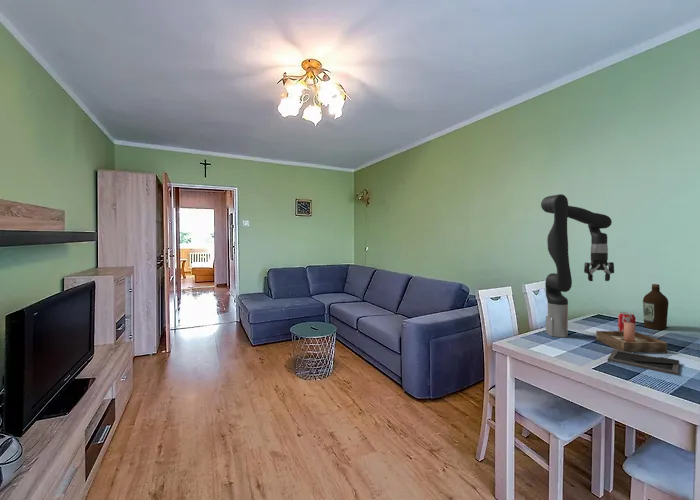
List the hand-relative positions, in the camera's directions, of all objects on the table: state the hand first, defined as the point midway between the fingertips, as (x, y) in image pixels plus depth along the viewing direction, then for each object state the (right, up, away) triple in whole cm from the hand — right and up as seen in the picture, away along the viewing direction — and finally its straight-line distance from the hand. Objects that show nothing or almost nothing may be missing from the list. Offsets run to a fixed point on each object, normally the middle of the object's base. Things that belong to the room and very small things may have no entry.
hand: (598, 281), depth 179 cm
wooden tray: (-4, -29, -24) cm, 38 cm away
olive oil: (+36, -28, +5) cm, 46 cm away
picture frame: (-15, -31, -44) cm, 56 cm away
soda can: (+9, -29, -8) cm, 31 cm away
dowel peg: (-4, -29, -24) cm, 38 cm away
